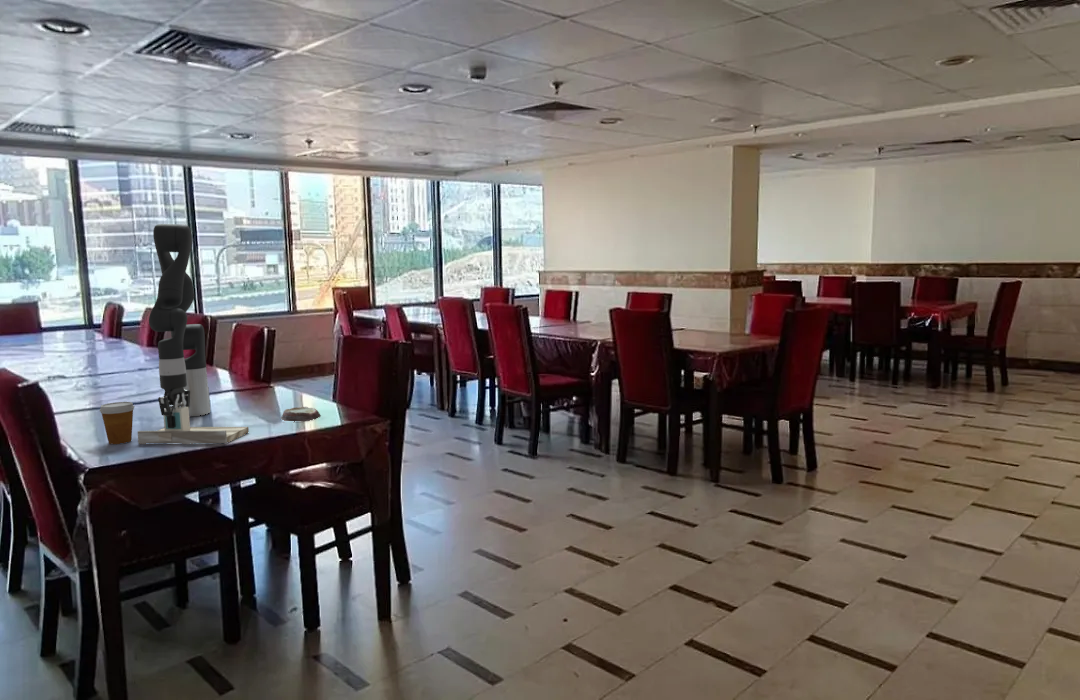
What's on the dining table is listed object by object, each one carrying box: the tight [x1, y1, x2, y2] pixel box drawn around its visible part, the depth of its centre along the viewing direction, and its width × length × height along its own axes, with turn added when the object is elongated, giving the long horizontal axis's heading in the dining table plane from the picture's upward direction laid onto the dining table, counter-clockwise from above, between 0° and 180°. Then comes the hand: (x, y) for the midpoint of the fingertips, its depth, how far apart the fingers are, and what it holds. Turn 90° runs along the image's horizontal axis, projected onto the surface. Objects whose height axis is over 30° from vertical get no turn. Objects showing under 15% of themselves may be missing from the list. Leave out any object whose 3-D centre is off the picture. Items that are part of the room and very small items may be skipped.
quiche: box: [280, 406, 322, 423], centre depth 264 cm, size 21×20×4 cm
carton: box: [162, 407, 191, 431], centre depth 234 cm, size 6×4×8 cm
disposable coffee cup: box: [99, 401, 135, 445], centre depth 232 cm, size 10×10×12 cm
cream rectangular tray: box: [136, 426, 250, 445], centre depth 235 cm, size 15×28×4 cm, turn 85°
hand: (177, 425), depth 234 cm, fingers open, 5 cm apart
